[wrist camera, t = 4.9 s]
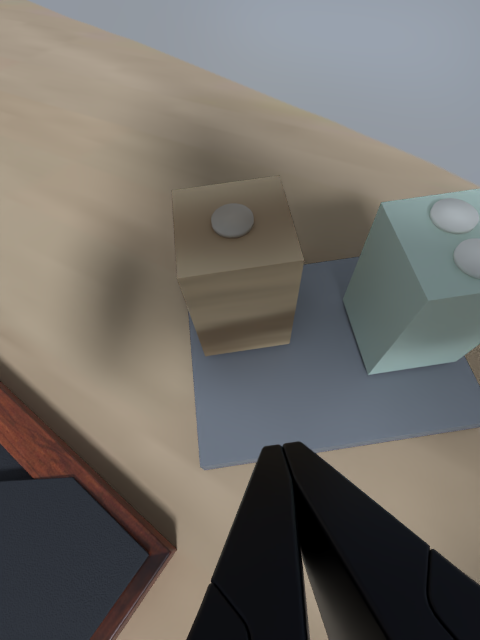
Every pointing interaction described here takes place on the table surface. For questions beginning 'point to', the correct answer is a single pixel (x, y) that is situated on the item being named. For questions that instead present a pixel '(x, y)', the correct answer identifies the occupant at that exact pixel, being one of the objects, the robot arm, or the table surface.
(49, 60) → the table surface
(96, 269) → the table surface
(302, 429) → the key base
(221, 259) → the wooden button block
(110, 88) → the table surface
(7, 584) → the picture frame
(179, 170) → the table surface
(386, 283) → the two-stud toy brick
